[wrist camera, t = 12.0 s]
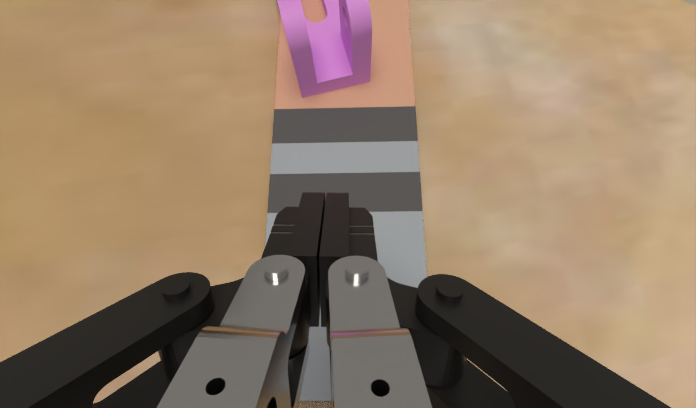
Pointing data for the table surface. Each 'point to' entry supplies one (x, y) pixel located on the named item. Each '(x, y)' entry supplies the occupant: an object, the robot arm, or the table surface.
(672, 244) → the table surface
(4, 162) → the table surface
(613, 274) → the table surface
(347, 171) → the lane
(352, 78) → the bracket
